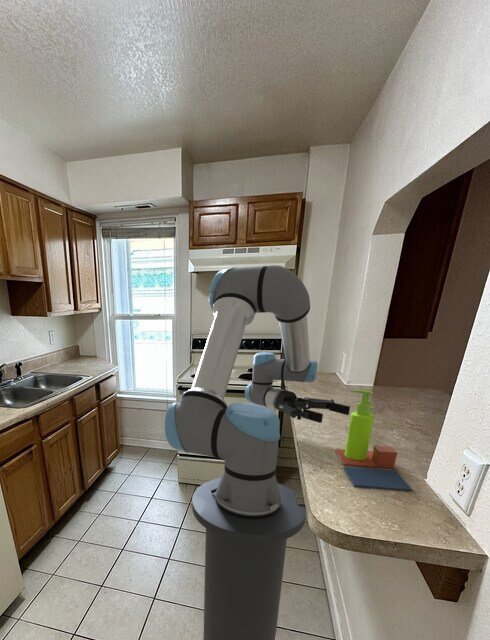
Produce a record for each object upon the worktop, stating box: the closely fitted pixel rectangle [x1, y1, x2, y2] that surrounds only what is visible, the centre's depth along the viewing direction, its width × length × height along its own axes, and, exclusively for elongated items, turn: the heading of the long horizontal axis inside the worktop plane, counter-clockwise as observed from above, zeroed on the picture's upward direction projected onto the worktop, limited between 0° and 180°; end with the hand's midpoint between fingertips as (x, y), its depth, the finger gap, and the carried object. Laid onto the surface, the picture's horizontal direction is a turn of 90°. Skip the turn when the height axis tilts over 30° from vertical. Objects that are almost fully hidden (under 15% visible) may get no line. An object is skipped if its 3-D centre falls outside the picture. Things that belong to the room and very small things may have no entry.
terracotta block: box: [371, 445, 398, 467], centre depth 100 cm, size 4×4×4 cm
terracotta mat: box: [335, 448, 395, 470], centre depth 105 cm, size 13×11×1 cm
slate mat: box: [343, 466, 413, 492], centre depth 93 cm, size 13×11×1 cm
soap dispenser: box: [344, 388, 375, 460], centre depth 103 cm, size 6×7×20 cm
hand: (335, 414), depth 109 cm, fingers open, 13 cm apart
